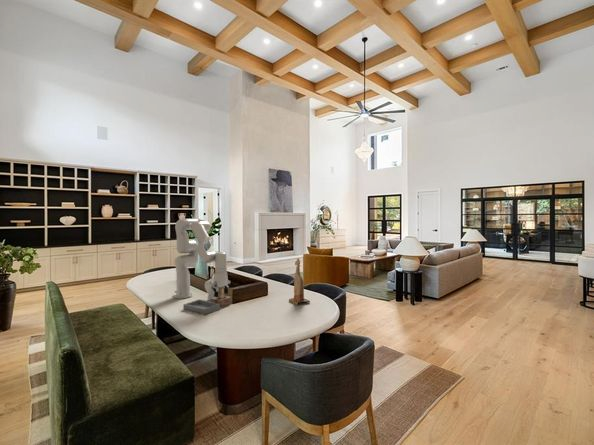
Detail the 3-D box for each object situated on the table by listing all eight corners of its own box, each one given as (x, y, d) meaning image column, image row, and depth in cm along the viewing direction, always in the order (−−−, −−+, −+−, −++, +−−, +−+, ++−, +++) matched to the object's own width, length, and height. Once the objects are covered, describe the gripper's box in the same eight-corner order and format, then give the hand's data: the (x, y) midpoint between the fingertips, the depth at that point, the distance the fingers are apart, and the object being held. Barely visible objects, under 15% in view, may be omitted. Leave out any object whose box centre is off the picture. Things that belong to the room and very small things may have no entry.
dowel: (217, 305, 201) (217, 285, 200) (221, 303, 204) (221, 283, 203) (221, 306, 199) (221, 285, 198) (225, 304, 202) (224, 284, 202)
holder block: (210, 305, 200) (210, 298, 199) (221, 301, 208) (221, 294, 208) (221, 308, 194) (221, 300, 194) (231, 304, 203) (231, 296, 203)
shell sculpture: (211, 302, 207) (210, 277, 206) (204, 300, 212) (203, 275, 211) (220, 299, 214) (220, 275, 213) (213, 297, 219) (213, 273, 218)
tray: (183, 309, 191) (183, 304, 191) (199, 304, 203) (199, 299, 202) (204, 315, 181) (204, 309, 181) (220, 309, 192) (219, 303, 192)
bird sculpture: (301, 299, 214) (300, 256, 214) (310, 303, 204) (309, 257, 204) (288, 302, 208) (287, 257, 208) (297, 306, 198) (295, 259, 198)
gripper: (226, 267, 210) (226, 291, 210) (207, 272, 195) (207, 297, 196) (233, 268, 206) (234, 293, 207) (215, 273, 191) (215, 299, 192)
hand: (221, 295), depth 201 cm, fingers open, 8 cm apart
